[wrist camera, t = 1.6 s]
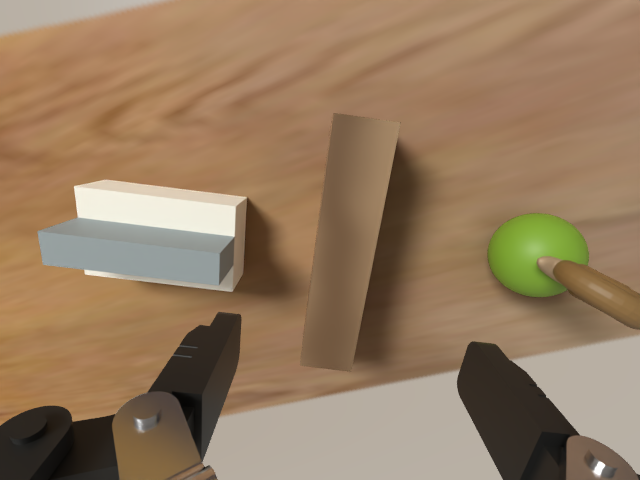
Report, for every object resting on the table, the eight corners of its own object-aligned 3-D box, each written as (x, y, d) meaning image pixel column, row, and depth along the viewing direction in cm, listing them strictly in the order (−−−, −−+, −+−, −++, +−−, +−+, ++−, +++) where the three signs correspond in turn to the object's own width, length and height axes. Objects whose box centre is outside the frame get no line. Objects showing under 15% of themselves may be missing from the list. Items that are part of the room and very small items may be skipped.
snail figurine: (529, 291, 25) (702, 427, 13) (459, 256, 24) (580, 369, 12) (576, 231, 23) (820, 327, 12) (503, 192, 22) (689, 254, 11)
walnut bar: (384, 124, 21) (400, 122, 16) (346, 328, 26) (351, 371, 22) (332, 117, 21) (333, 113, 16) (304, 323, 26) (300, 365, 22)
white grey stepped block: (247, 197, 23) (220, 218, 17) (243, 273, 25) (218, 315, 19) (106, 179, 22) (31, 195, 17) (113, 257, 24) (48, 295, 19)
